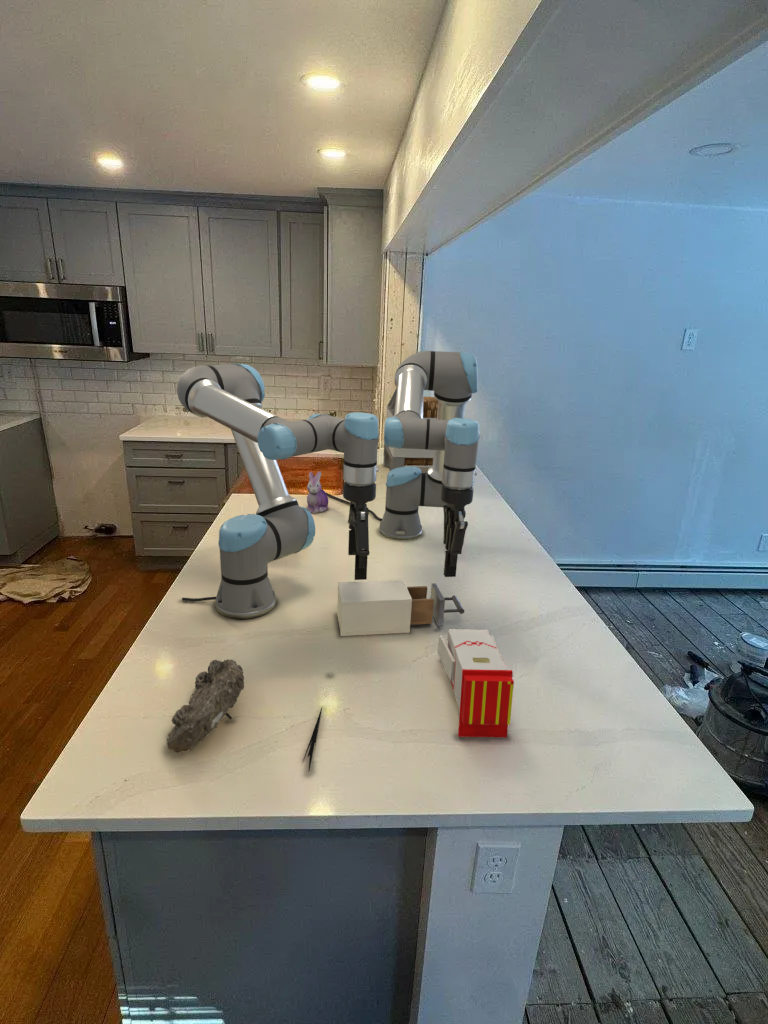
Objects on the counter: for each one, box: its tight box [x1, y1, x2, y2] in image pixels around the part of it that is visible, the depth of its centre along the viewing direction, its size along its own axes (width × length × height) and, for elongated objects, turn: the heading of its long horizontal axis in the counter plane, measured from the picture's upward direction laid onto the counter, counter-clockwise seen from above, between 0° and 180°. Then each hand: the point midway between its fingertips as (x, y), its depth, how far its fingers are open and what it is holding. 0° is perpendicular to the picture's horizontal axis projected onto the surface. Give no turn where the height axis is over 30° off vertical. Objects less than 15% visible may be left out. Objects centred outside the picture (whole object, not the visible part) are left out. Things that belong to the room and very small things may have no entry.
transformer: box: [383, 387, 438, 472], centre depth 268 cm, size 34×33×41 cm
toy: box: [437, 628, 515, 738], centre depth 117 cm, size 12×13×30 cm
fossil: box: [166, 658, 245, 754], centre depth 106 cm, size 22×10×15 cm
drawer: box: [406, 582, 465, 627], centre depth 143 cm, size 21×9×7 cm, turn 100°
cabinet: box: [336, 579, 412, 637], centre depth 141 cm, size 17×10×9 cm, turn 99°
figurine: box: [306, 470, 329, 514], centre depth 217 cm, size 9×10×15 cm
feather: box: [301, 673, 332, 771], centre depth 108 cm, size 2×28×2 cm
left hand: (357, 566), depth 137 cm, fingers open, 13 cm apart
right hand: (449, 575), depth 142 cm, fingers closed
